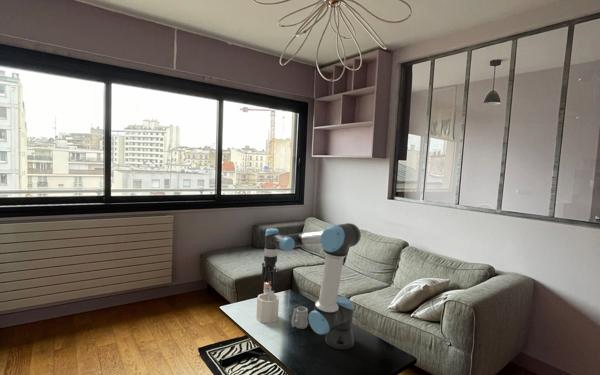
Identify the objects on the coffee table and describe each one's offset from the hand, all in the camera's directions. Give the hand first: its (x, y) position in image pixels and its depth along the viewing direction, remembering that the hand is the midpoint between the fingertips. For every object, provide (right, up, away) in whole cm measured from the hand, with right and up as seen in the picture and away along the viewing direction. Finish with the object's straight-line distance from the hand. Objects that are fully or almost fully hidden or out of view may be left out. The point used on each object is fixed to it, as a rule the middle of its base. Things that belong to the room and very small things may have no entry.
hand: (268, 293), depth 196 cm
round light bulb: (-1, -11, +1) cm, 11 cm away
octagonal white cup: (-2, -14, +3) cm, 15 cm away
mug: (+18, -17, -6) cm, 25 cm away
